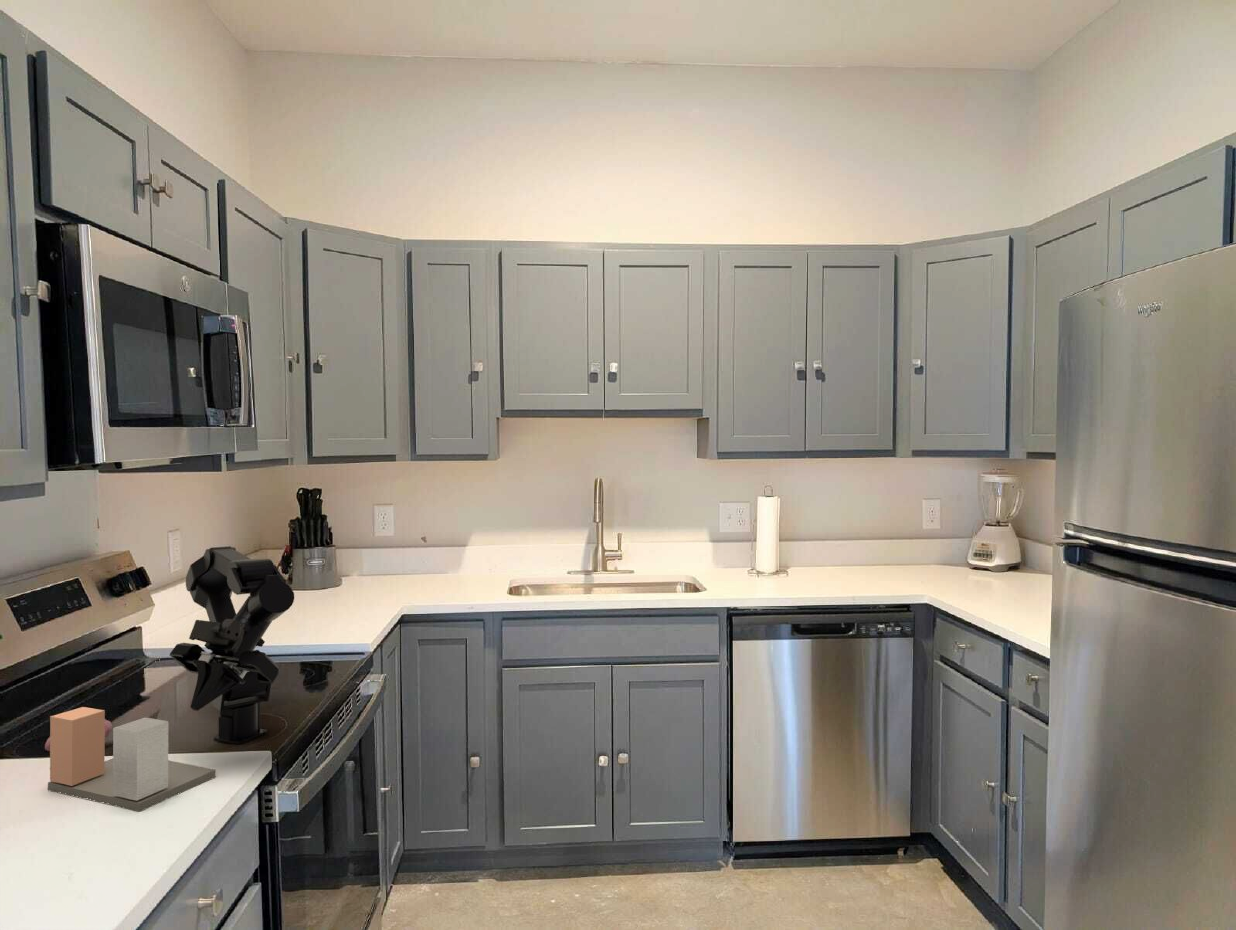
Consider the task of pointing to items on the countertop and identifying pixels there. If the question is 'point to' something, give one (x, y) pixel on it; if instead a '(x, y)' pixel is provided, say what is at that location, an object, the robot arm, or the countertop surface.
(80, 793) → the thin grey base plate
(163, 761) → the brushed grey block
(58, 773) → the peach orange rectangular block
